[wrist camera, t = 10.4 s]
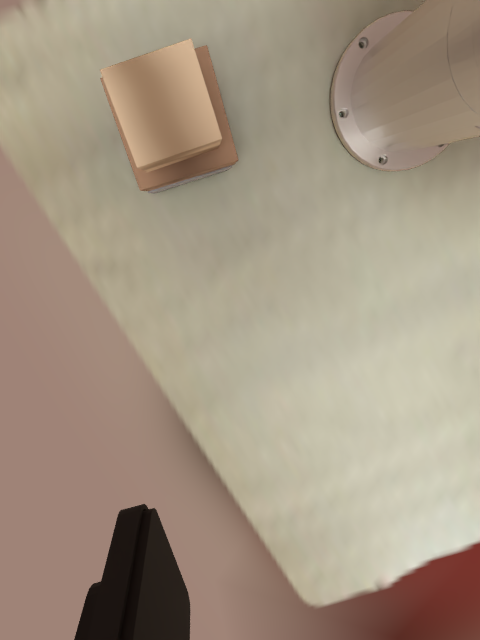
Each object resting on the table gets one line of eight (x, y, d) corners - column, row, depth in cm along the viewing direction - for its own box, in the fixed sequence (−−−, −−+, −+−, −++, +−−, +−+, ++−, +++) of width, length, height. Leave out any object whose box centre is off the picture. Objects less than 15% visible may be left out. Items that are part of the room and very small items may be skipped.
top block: (205, 68, 30) (206, 45, 26) (232, 165, 32) (238, 159, 28) (115, 96, 30) (100, 78, 26) (148, 191, 32) (140, 190, 28)
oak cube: (192, 67, 26) (191, 38, 21) (218, 148, 27) (222, 138, 23) (118, 92, 26) (99, 69, 21) (147, 172, 27) (137, 167, 23)
